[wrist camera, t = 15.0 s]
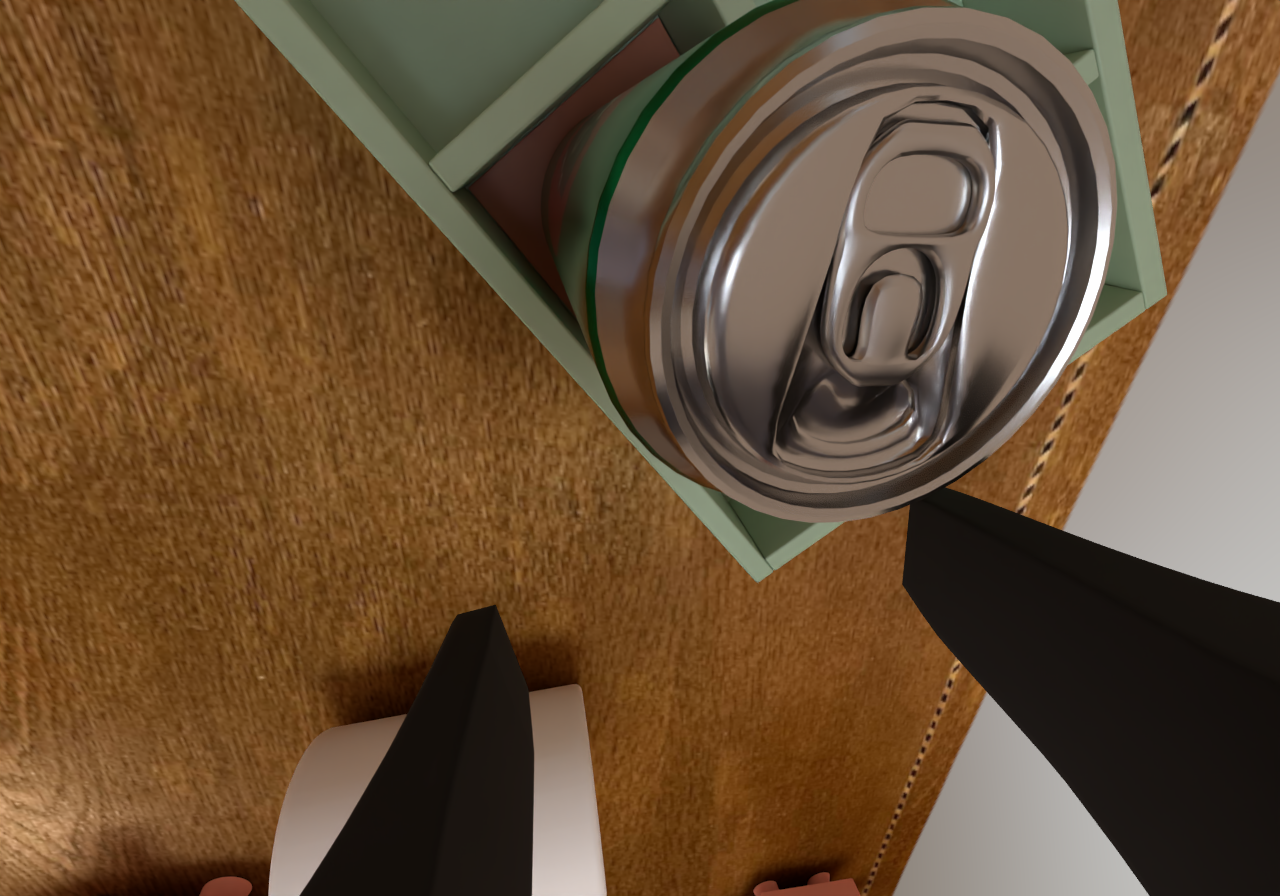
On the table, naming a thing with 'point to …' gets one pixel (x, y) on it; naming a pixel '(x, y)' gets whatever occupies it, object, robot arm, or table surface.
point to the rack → (576, 87)
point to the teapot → (227, 887)
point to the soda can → (837, 248)
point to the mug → (354, 752)
